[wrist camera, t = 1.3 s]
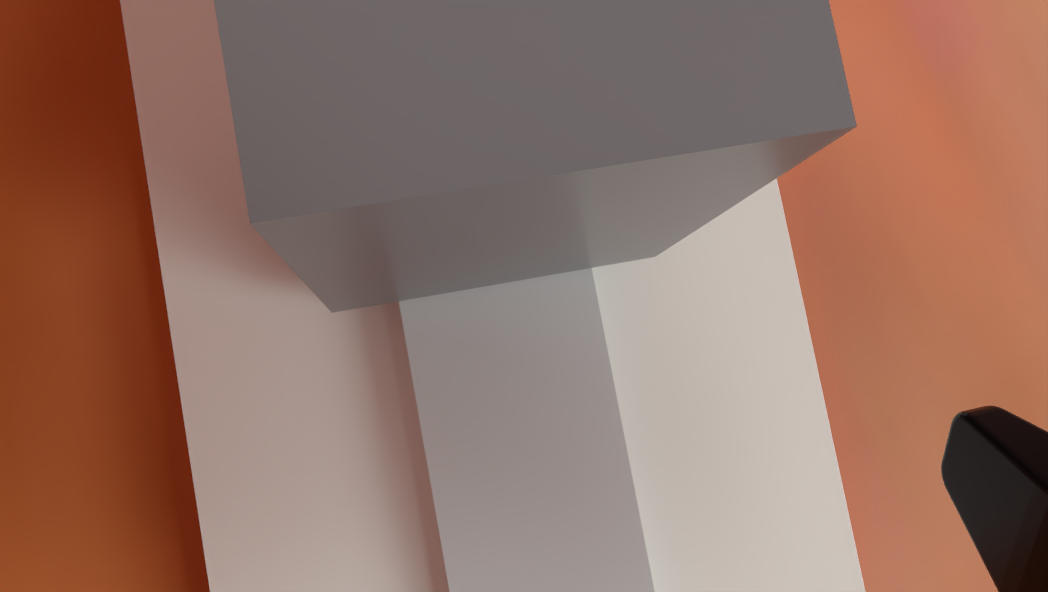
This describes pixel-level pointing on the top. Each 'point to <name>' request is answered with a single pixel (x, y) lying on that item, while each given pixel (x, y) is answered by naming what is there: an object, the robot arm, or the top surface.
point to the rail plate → (482, 396)
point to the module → (513, 130)
